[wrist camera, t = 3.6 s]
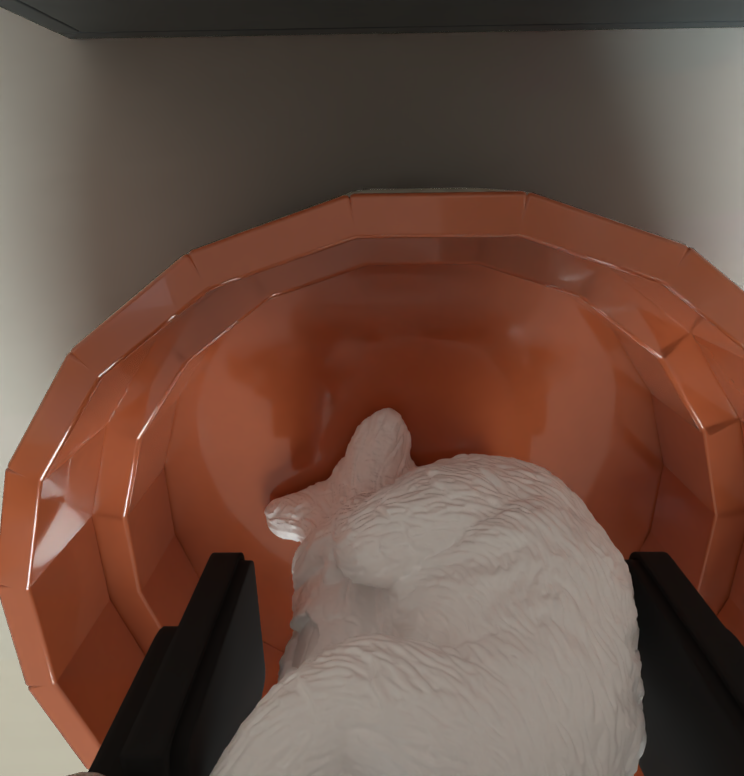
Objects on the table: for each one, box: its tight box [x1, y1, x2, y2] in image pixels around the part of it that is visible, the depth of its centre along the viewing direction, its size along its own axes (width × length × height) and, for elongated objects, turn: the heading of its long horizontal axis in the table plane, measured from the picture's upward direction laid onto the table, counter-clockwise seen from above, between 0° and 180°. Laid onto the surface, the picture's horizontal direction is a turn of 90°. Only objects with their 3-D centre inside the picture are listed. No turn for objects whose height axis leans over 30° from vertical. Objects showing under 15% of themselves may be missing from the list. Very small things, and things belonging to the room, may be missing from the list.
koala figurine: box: [209, 408, 647, 776], centre depth 9 cm, size 8×7×12 cm
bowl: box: [0, 187, 744, 776], centre depth 12 cm, size 15×15×5 cm
